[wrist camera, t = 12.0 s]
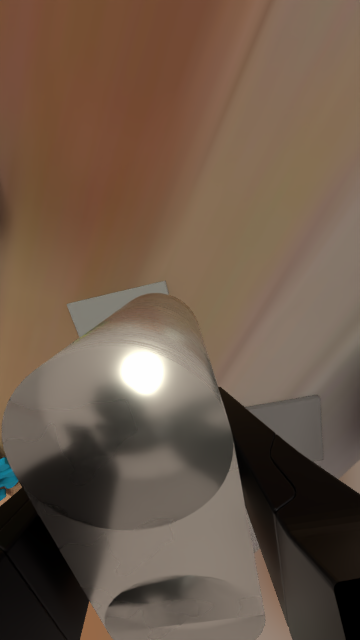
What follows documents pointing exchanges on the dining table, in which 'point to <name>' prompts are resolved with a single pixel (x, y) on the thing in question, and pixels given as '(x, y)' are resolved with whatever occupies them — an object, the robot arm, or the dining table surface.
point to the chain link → (140, 476)
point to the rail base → (295, 423)
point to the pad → (107, 305)
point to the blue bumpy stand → (6, 477)
